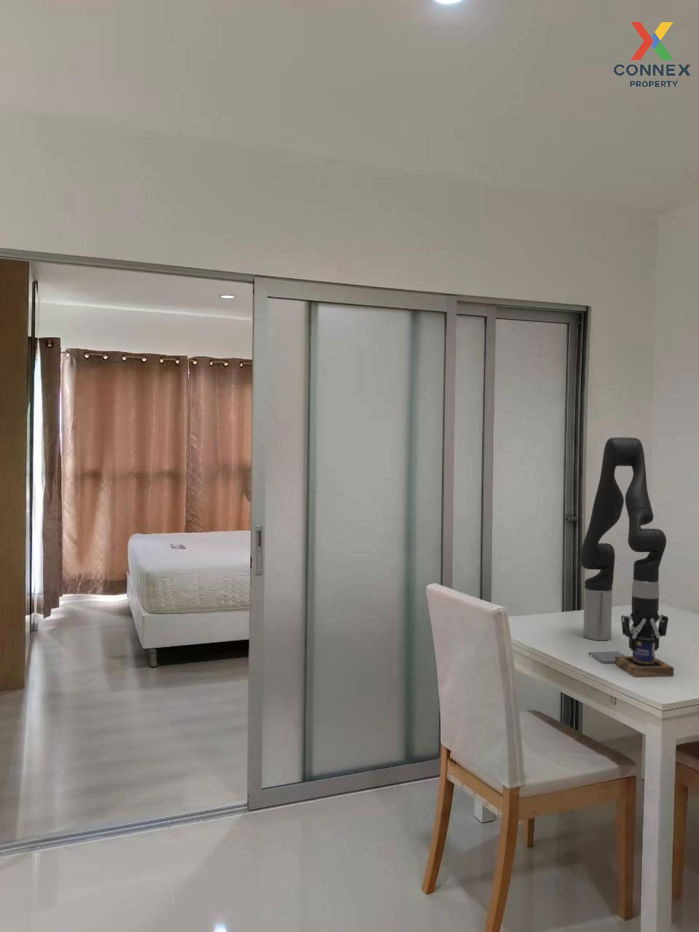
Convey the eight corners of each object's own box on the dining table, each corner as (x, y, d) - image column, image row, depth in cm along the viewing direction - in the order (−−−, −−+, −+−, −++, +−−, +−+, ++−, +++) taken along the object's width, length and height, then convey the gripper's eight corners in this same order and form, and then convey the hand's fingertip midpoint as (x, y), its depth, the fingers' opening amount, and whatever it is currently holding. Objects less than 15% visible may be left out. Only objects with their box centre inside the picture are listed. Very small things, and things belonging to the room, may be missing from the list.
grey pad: (588, 654, 232) (588, 652, 232) (617, 653, 233) (617, 651, 233) (602, 663, 222) (602, 661, 222) (633, 663, 223) (633, 660, 223)
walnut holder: (615, 664, 221) (615, 656, 221) (651, 663, 223) (652, 655, 223) (634, 677, 209) (635, 668, 209) (673, 676, 211) (673, 667, 211)
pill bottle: (630, 664, 216) (631, 627, 215) (634, 659, 221) (635, 623, 220) (652, 668, 212) (653, 631, 212) (656, 662, 217) (657, 626, 217)
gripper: (661, 591, 220) (659, 646, 221) (616, 592, 218) (615, 646, 219) (674, 597, 213) (673, 653, 213) (628, 597, 211) (627, 654, 212)
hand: (643, 649), depth 216 cm, fingers closed on pill bottle, 6 cm apart
